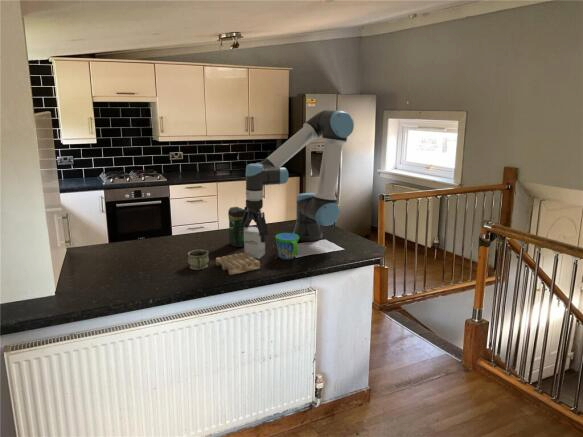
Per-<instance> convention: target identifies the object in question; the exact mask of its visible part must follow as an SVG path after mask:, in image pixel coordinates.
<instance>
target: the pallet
mask: <svg viewBox="0 0 583 437" xmlns="http://www.w3.org/2000/svg"><path fill="white" fill-rule="evenodd" d="M215 265H216V266H217V267H219V266H221V269H222V270H223V271H227V272H228V275H230V276H232V275H236V274H241V273H245V272H250V271H254V270H258V269H261V262H260V260H259V259H257V258H253V257H251V256H249V255H248V254H246V253H244V252H239V253H235V254H229V255H224V256H220V257H219V256H218V257H216V258H215Z"/></svg>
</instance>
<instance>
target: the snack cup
mask: <svg viewBox="0 0 583 437" xmlns="http://www.w3.org/2000/svg"><path fill="white" fill-rule="evenodd" d="M274 240H275V241H276V243H275V244H276V247H277V253H278V254H277V255H278V257H279V258H280V259H282V260H284V261H285V260H286V261H289V260H293V259H295V257H296V256H297V255H299V247H298V242H299V241H300V240H299V236H298V235H297V234H293V232H280V233H278V234H276V235H275V238H274Z"/></svg>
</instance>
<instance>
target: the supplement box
mask: <svg viewBox="0 0 583 437" xmlns="http://www.w3.org/2000/svg"><path fill="white" fill-rule="evenodd" d="M249 227H250V228H248V229H246V230H245V231H244V247H243V248H244V249H243V250H244V253H246V254H248V255H249V256H251V257H253V258H254V259H256V260H259V259H261V258H262V257H263V256H265V255H266V248H265V249H260V250H259V234H260V233H259V231H258V228H257V227H256V226H249Z"/></svg>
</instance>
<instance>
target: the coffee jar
mask: <svg viewBox="0 0 583 437" xmlns="http://www.w3.org/2000/svg"><path fill="white" fill-rule="evenodd" d="M227 211H228V214H227V216H228V243H229V245H230V246H233V247H235V248H244V227H243V225H241V222H242V218H243V214H244V208H241V207H240V206H233V207H230V208H229V209H228V210H227ZM244 222H245V221H244Z"/></svg>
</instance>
